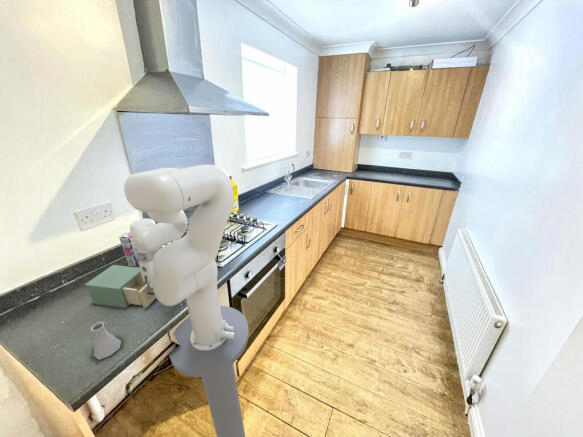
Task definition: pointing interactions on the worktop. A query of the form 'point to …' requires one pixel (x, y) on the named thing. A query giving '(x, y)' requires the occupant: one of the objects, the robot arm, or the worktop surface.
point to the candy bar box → (130, 249)
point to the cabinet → (111, 285)
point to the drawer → (138, 292)
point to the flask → (104, 341)
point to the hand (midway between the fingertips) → (162, 291)
